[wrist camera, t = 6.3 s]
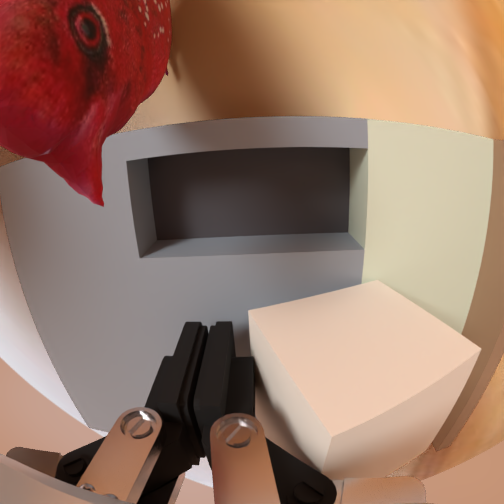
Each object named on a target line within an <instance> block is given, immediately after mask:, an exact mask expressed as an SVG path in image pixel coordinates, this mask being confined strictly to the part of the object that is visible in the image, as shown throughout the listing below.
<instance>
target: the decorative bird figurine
mask: <svg viewBox="0 0 504 504" xmlns="http://www.w3.org/2000/svg"><path fill="white" fill-rule="evenodd" d="M171 40H172V24H171V8H170V0H0V146H2V147H4V148H5V149H7V150H9V151H10V152H12V153H14V154H17V155H20V156H23V157H26V158H29V159H33V160H37V161H41V162H44V163H45V164H46V165H47V166H48V167H50V168H51V169H52V170H53V171H54V172H55V173H56V174H58V175H59V176H60V177H62V178H63V179H64V180H65V181H66V182H67V184H68V185H69V186H70V187H71V188H73V189H74V190H75V191H76V192H77V193H78V194H81V195H83V196H85V197H87V198H88V199H89V200H90V201H91V202H92V203H93V204H97V205H100V206H103V207H104V201H103V198H102V192H103V184H102V145H103V143H104V141H105V139H106V138H107V137H109V136H110V135H112V134H114V133H116V132H117V131H119V130H120V129H121V128H122V127H123V126H124V125H125V124H126V123H127V122H128V120H129V119H130V118H131V117H132V115H133V114H134V113H135V111H136V109H137V107H138V105H139V104H140V103H142V102H143V101H145V100H146V99H147V98H148V97H150V96H151V95H152V94H153V93H154V91H155V90H156V88H157V87H158V85H159V84H160V82H161V80H162V78H163V76H164V74H165V73H166V75H167V76H168V71H167V64H168V59H169V55H170V48H171Z"/></svg>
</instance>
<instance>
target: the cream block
mask: <svg viewBox="0 0 504 504" xmlns="http://www.w3.org/2000/svg"><path fill="white" fill-rule="evenodd" d="M248 316H249V333H250V349H251V357H252V356H253V357H254V373H255V415H256V418H257V420H258V421H259V422H260V423H261V424H262V427H263V429H264V434H265V436H266V438H268V439H269V440H270V441H272V442H273V443H275V444H276V445H278V446H279V447H281V448H282V449H284V450H285V451H287V452H288V453H290V454H291V455H293V456H294V457H296V458H297V459H299V460H301V461H302V462H304V463H305V464H307V465H308V466H310V467H312V468H313V469H315V470H317V471H318V472H320V473H322V474H323V475H325V476H327V477H328V478H329V479H331V480H344V478H380V477H386V476H388V475H389V474H391V473H393V472H394V471H396V470H397V469H399V468H401V467H402V466H404V465H405V464H407V463H408V462H410V461H411V460H413V459H414V458H416V457H417V456H419V455H420V454H422V453H423V452H425V451H426V450H427V448H428V447H429V446H430V444H431V443H432V441H433V440H434V438H435V436H436V435H437V433H438V432H439V430H440V429H441V427H442V425H443V424H444V422H445V420H446V419H447V417H448V415H449V414H450V412H451V410H452V408H453V407H454V405H455V403H456V401H457V399H458V397H459V396H460V394H461V392H462V390H463V388H464V386H465V384H466V382H467V380H468V378H469V376H470V374H471V371H472V369H473V367H474V365H475V363H476V360H477V358H478V356H479V354H480V351H481V348H480V347H478V346H477V345H476V344H474V343H473V342H471V341H470V340H468V339H467V338H465V337H464V336H463V335H461V334H460V333H458V332H457V331H455V330H454V329H452V328H451V327H449V326H448V325H446V324H445V323H443V322H442V321H440V320H439V319H437V318H436V317H434V316H433V315H431V314H430V313H428V312H427V311H425V310H424V309H422V308H421V307H419V306H418V305H416V304H415V303H413V302H412V301H410V300H408V299H407V298H405V297H404V296H402V295H401V294H399V293H398V292H396V291H394V290H393V289H391V288H390V287H388V286H387V285H385V284H383V283H382V282H380V281H379V280H375V281H371V282H367V283H363V284H360V285H356V286H352V287H348V288H344V289H340V290H336V291H332V292H328V293H324V294H320V295H315V296H311V297H307V298H303V299H298V300H294V301H289V302H285V303H281V304H276V305H271V306H267V307H262V308H257V309H252V310H248Z"/></svg>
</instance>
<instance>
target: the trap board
mask: <svg viewBox="0 0 504 504" xmlns="http://www.w3.org/2000/svg"><path fill="white" fill-rule="evenodd" d="M102 184H103V192H102V198H103V201H104V207H103V206H100V205H97V204H93V203H92V202H91V201H90V200H89V199H88V198H87V197H85V196H83V195H81V194H78V193H77V192H76V191H75V190H74V189H73V188H71V187H70V186H69V185H68V184H67V182H66V181H65V180H64V179H63V178H62V177H60V176H59V175H58V174H56V173H55V172H54V171H53V170H52V169H51V168H50V167H48V166H47V165H46V164H45V163H44V162H41V161H37V160H33V159H29V158H23V159H20V160H17V161H14V162H11V163H8V164H6V165H3V166H0V199H1V205H2V211H3V216H4V221H5V226H6V231H7V236H8V240H9V244H10V248H11V252H12V256H13V260H14V263H15V267H16V271H17V274H18V277H19V280H20V284H21V287H22V290H23V293H24V296H25V299H26V302H27V304H28V307H29V310H30V313H31V315H32V318H33V320H34V323H35V325H36V328H37V330H38V333H39V335H40V337H41V340H42V342H43V344H44V346H45V349H46V351H47V353H48V355H49V357H50V359H51V361H52V364H53V366H54V368H55V370H56V372H57V374H58V375H59V377H60V379H61V381H62V383H63V385H64V387H65V389H66V390H67V392H68V394H69V396H70V398H71V399H72V401H73V403H74V404H75V406H76V408H77V409H78V411H79V413H80V414H81V416H82V418H83V419H84V421H85V422H86V424H87V425H88V427H89V428H92V429H96V430H101V431H105V432H110V430H111V428H112V427H113V425H114V424H115V422H116V421H117V419H118V418H119V416H120V415H121V414H122V413H124V412H125V411H127V410H129V409H132V408H136V407H144V406H145V404H146V401H147V398H148V396H149V393H150V391H151V388H152V385H153V383H154V380H155V377H156V375H157V372H158V370H159V367H160V365H161V362H162V360H163V358H164V356H173V354H174V351H175V349H176V346H177V343H178V340H179V338H180V335H181V332H182V330H183V327H184V324H185V322H201V323H202V325H206V326H207V327H208V333H209V330H210V326H211V325H216V322H217V321H232V324H233V333H234V343H235V352H236V357H251V349H250V333H249V316H248V310H252V309H257V308H262V307H267V306H271V305H276V304H281V303H285V302H289V301H294V300H298V299H303V298H307V297H311V296H315V295H320V294H324V293H328V292H332V291H336V290H340V289H344V288H348V287H352V286H356V285H360V284H363V283H367V282H371V281H375V280H379V281H380V282H382V283H383V284H385V285H387V286H388V287H390V288H391V289H393V290H394V291H396V292H398V293H399V294H401V295H402V296H404V297H405V298H407V299H408V300H410V301H412V302H413V303H415V304H416V305H418V306H419V307H421V308H422V309H424V310H425V311H427V312H428V313H430V314H431V315H433V316H434V317H436V318H437V319H439V320H440V321H442V322H443V323H445V324H446V325H448V326H449V327H451V328H452V329H454V330H455V331H457V332H458V333H460V334H461V335H463V336H464V337H465V338H467V339H468V340H470V341H471V342H473V343H474V344H476V345H477V346H478V347H480V348H481V351H480V354H479V356H478V358H477V360H476V363H475V365H474V367H473V369H472V371H471V374H470V376H469V378H468V380H467V382H466V384H465V386H464V388H463V390H462V392H461V394H460V396H459V397H458V399H457V401H456V403H455V405H454V407H453V408H452V410H451V412H450V414H449V415H448V417H447V419H446V420H445V422H444V424H443V425H442V427H441V429H440V430H439V432H438V433H437V435H436V436H435V438H434V440H433V441H432V443H433V445H434V448H435V450H436V451H439V450H441V449H444V448H447V447H449V446H450V445H451V444H452V442H453V441H454V439H455V438H456V437H457V435H458V434H459V432H460V431H461V429H462V428H463V426H464V425H465V423H466V422H467V420H468V418H469V417H470V415H471V414H472V412H473V410H474V409H475V407H476V405H477V404H478V402H479V400H480V398H481V397H482V395H483V393H484V391H485V390H486V388H487V386H488V384H489V382H490V380H491V378H492V376H493V374H494V372H495V370H496V368H497V366H498V364H499V362H500V360H501V358H502V355H503V353H504V140H496V139H490V138H486V137H482V136H478V135H473V134H469V133H464V132H459V131H454V130H448V129H443V128H437V127H431V126H424V125H418V124H410V123H402V122H394V121H385V120H374V119H361V118H346V117H322V116H271V117H246V118H230V119H217V120H206V121H197V122H188V123H180V124H172V125H165V126H158V127H152V128H145V129H139V130H134V131H128V132H123V133H118V134H113V135H110V136H109V137H107V138H106V139H105V141H104V143H103V145H102ZM255 418H256V415H255ZM256 419H257V418H256ZM265 437H266V436H265Z"/></svg>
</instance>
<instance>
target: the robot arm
mask: <svg viewBox="0 0 504 504" xmlns="http://www.w3.org/2000/svg"><path fill="white" fill-rule="evenodd" d="M205 456H207V459H208V462H209V465H210V468H211V470H212V475H213V489H214V501H215V504H431V503H426V491H425V488H424V485H423V483H422V482H421V481H420V480H419V479H417V478H414V477H410V476H399V477H380V478H344V480H331V479H329V478H328V477H327V476H325V475H323V474H322V473H320V472H318V471H317V470H315V469H313V468H312V467H310V466H308V465H307V464H305V463H304V462H302V461H301V460H299V459H297V458H296V457H294V456H293V455H291V454H290V453H288V452H287V451H285V450H284V449H282V448H281V447H279V446H278V445H276V444H275V443H273V442H272V441H270V440H269V439H268V438H266V437H265V434H264V429H263V427H262V424H261V423H260V422H259V421H258V420H257V419H256V418H255V373H254V357H253V356H252V357H236V352H235V343H234V333H233V324H232V321H217V322H216V325H211V326H210V330H209V333H208V327H207V326H206V325H202V323H201V322H185V324H184V327H183V330H182V332H181V335H180V338H179V340H178V343H177V346H176V349H175V351H174V354H173V356H164V358H163V360H162V362H161V365H160V367H159V370H158V372H157V375H156V377H155V380H154V383H153V385H152V388H151V391H150V393H149V396H148V398H147V401H146V404H145V406H144V407H136V408H132V409H129V410H127V411H125V412H124V413H122V414H121V415H120V416H119V418H118V419H117V421H116V422H115V424H114V425H113V427H112V428H111V430H110V432H109V433H108V435H107V436H106V437H103V438H102V439H99V440H97V441H95V442H92V443H90V444H88V445H86V446H83V447H81V448H79V449H76V450H74V451H72V452H69V453H67V454H66V455H64V456H62V455H61V454H60V453H55V452H48V451H40V450H35V449H29V448H23V447H15V448H13V449H11V450H10V451H9V452H8V453H7V455H6V456H5V455H2V454H0V504H175V502H176V499H177V497H178V494H179V491H180V489H181V486H182V483H183V481H184V478H185V472H186V471H187V470H189V469H191V468H192V465H199V461H200V457H202V458H205Z"/></svg>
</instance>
